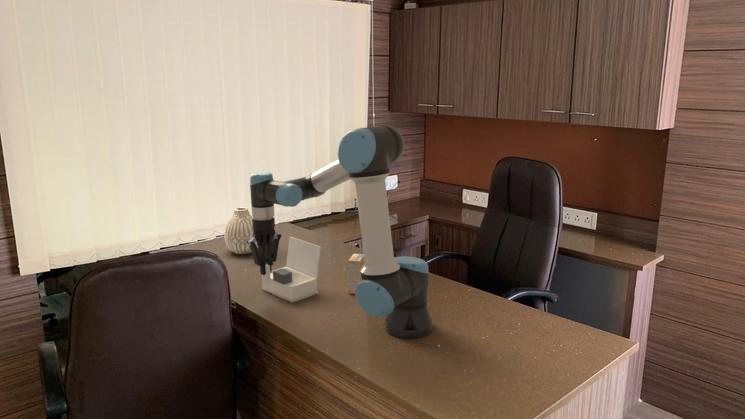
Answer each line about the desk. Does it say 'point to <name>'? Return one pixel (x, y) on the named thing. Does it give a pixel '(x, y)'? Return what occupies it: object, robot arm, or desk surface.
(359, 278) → the supplement box
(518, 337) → the desk surface
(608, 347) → the desk surface
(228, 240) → the vase
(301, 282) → the open white tray
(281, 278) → the plug block
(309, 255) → the cover
